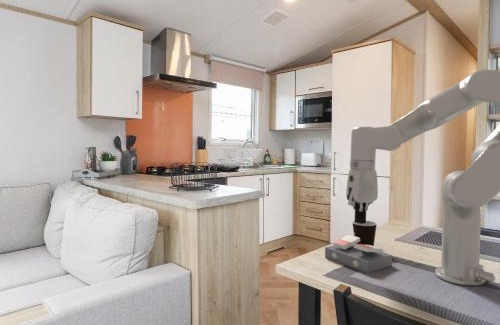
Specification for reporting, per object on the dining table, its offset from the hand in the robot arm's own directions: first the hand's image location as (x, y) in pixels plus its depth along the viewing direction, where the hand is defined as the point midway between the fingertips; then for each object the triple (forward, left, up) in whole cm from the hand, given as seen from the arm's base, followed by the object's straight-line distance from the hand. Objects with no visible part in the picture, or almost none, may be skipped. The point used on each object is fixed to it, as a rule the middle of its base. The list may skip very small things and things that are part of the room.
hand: (360, 222), depth 109 cm
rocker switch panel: (+4, -3, -14) cm, 15 cm away
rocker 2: (-1, -3, -9) cm, 10 cm away
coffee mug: (+12, -17, -15) cm, 26 cm away
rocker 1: (+8, -3, -9) cm, 13 cm away
